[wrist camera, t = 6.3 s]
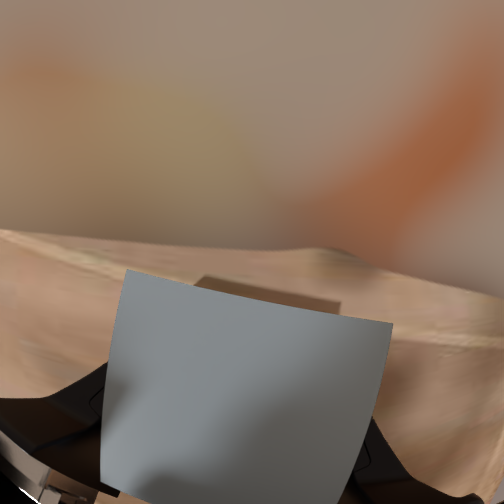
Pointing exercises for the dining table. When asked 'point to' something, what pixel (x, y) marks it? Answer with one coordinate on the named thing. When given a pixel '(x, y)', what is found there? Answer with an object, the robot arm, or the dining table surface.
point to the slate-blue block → (234, 397)
